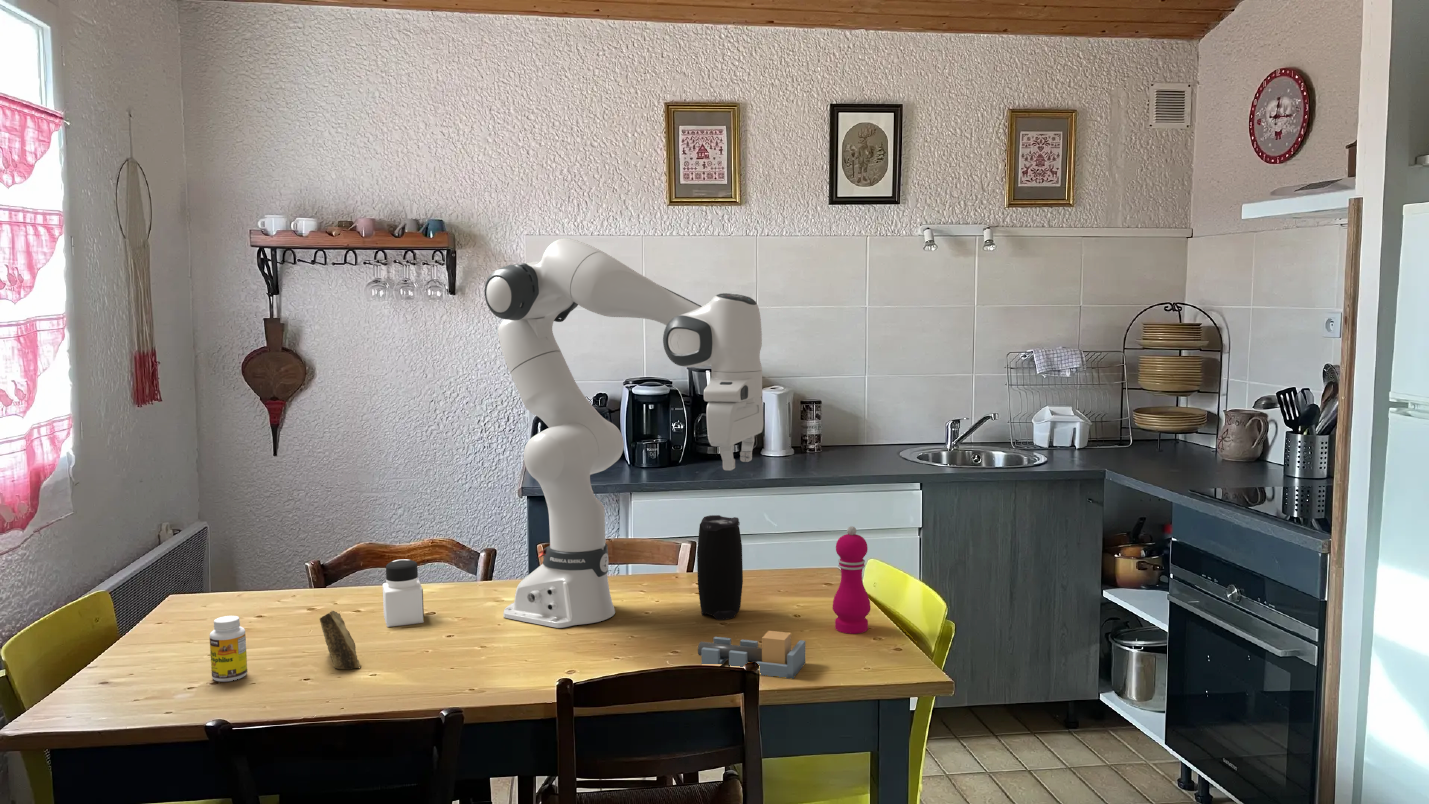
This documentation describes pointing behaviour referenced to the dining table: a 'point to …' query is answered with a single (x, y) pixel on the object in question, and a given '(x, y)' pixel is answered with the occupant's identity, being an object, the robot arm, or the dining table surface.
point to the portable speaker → (719, 566)
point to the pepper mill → (851, 585)
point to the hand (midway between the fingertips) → (737, 465)
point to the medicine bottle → (402, 594)
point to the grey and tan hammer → (771, 651)
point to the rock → (339, 641)
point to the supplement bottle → (228, 649)
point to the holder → (793, 663)
